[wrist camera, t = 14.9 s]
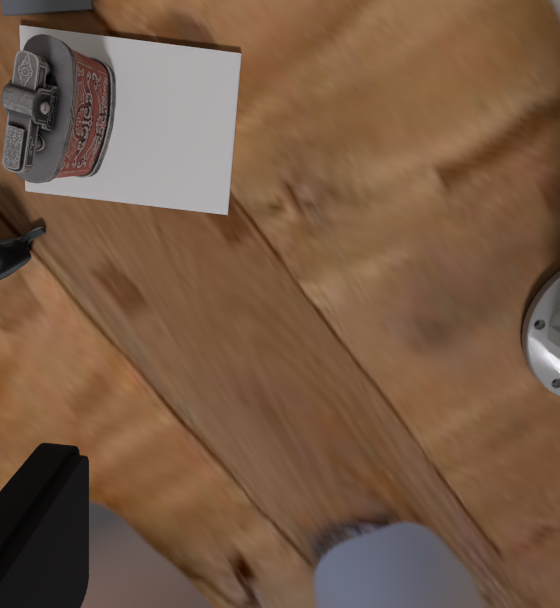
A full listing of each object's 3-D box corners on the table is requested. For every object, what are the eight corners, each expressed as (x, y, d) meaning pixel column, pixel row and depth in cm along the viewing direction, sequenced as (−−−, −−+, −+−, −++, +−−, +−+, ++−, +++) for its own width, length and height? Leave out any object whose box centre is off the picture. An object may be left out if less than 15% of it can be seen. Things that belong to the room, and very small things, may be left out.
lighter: (75, 52, 33) (-8, 12, 24) (124, 67, 34) (61, 34, 24) (56, 169, 36) (-26, 175, 26) (102, 183, 36) (37, 194, 26)
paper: (241, 54, 34) (241, 53, 33) (228, 214, 37) (227, 215, 37) (22, 26, 33) (19, 24, 33) (28, 190, 37) (25, 191, 36)
